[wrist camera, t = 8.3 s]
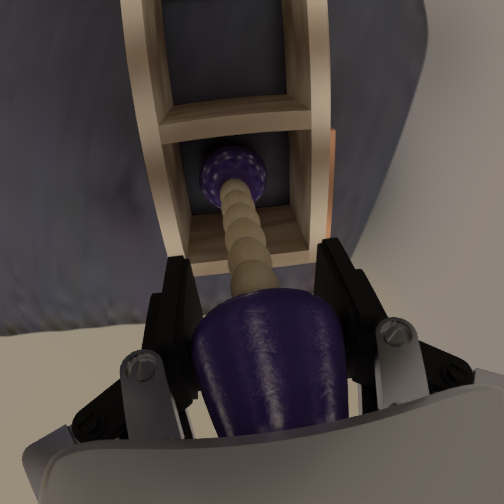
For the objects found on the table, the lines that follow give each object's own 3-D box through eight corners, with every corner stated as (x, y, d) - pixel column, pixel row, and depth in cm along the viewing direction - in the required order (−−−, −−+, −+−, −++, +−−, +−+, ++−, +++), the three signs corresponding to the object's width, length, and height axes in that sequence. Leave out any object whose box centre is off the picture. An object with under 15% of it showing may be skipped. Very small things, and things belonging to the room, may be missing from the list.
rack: (140, -101, 9) (119, -137, 4) (291, -113, 9) (314, -150, 4) (181, 228, 25) (174, 278, 20) (308, 214, 25) (331, 260, 20)
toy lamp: (259, 130, 18) (373, 402, 5) (285, 193, 21) (382, 453, 7) (187, 162, 19) (140, 454, 5) (219, 220, 22) (234, 490, 8)
